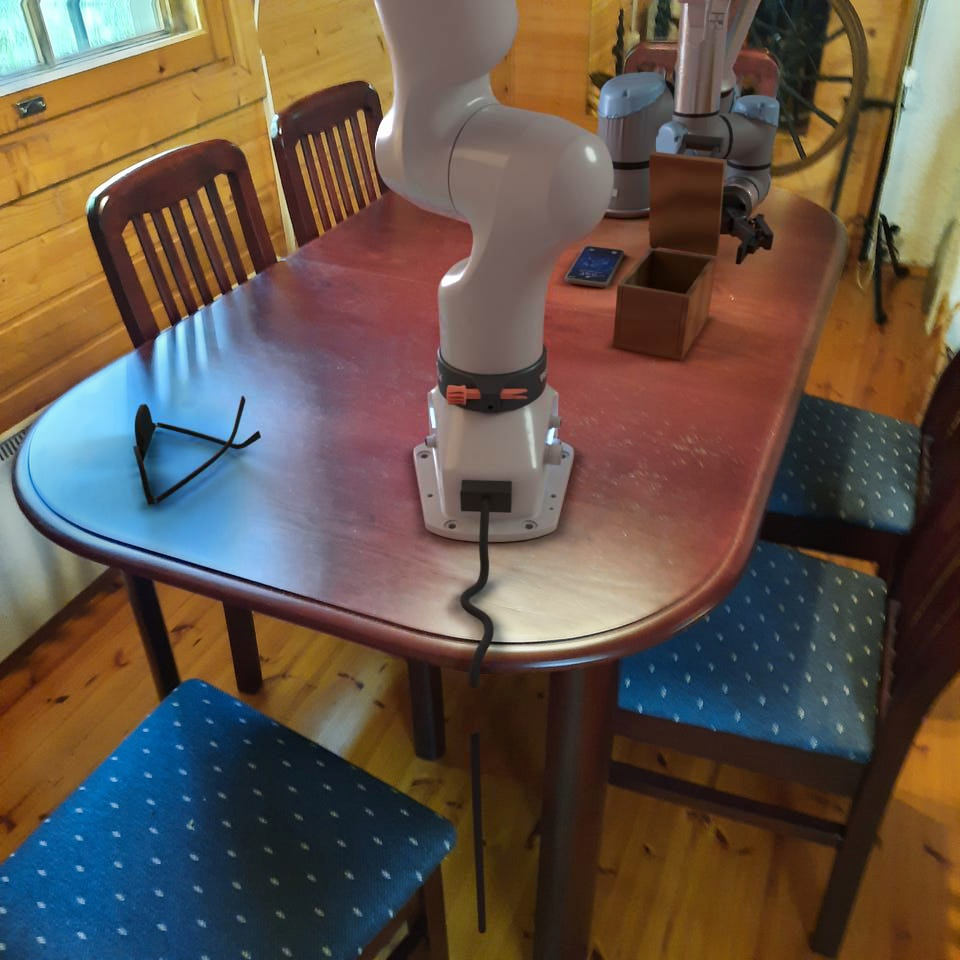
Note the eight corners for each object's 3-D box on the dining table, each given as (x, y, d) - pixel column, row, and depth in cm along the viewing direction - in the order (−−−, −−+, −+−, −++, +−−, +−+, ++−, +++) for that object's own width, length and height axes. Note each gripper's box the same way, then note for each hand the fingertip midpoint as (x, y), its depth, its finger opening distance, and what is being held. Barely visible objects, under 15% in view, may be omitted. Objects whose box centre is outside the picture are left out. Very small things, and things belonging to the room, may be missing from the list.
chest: (681, 360, 118) (689, 297, 113) (612, 347, 122) (617, 284, 116) (708, 318, 129) (717, 257, 123) (644, 306, 132) (650, 247, 127)
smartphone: (626, 249, 148) (607, 284, 137) (625, 255, 149) (607, 289, 137) (584, 244, 150) (562, 278, 139) (584, 249, 151) (562, 283, 139)
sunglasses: (270, 486, 97) (262, 449, 94) (137, 510, 94) (125, 474, 91) (257, 411, 110) (250, 377, 107) (140, 430, 107) (130, 396, 104)
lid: (723, 163, 111) (742, 125, 115) (649, 154, 114) (669, 118, 119) (716, 256, 122) (733, 218, 127) (649, 245, 126) (668, 209, 131)
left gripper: (718, -104, 107) (703, 20, 115) (670, -94, 92) (657, 48, 100) (769, -105, 104) (751, 23, 112) (729, -94, 90) (710, 52, 98)
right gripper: (800, 238, 146) (772, 285, 131) (659, 217, 156) (618, 259, 141) (809, 194, 142) (781, 237, 127) (663, 175, 151) (621, 214, 136)
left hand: (706, 35), depth 106 cm, fingers open, 8 cm apart
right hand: (695, 249), depth 134 cm, fingers open, 13 cm apart
